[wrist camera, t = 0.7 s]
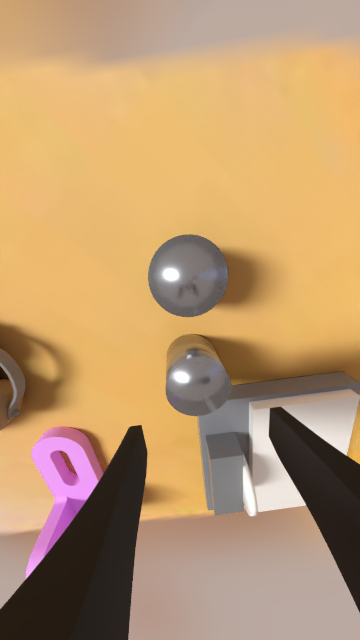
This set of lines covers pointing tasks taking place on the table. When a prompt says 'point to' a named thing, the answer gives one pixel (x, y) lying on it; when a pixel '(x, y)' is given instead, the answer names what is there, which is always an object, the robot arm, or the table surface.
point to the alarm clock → (10, 389)
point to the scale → (255, 445)
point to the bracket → (63, 482)
